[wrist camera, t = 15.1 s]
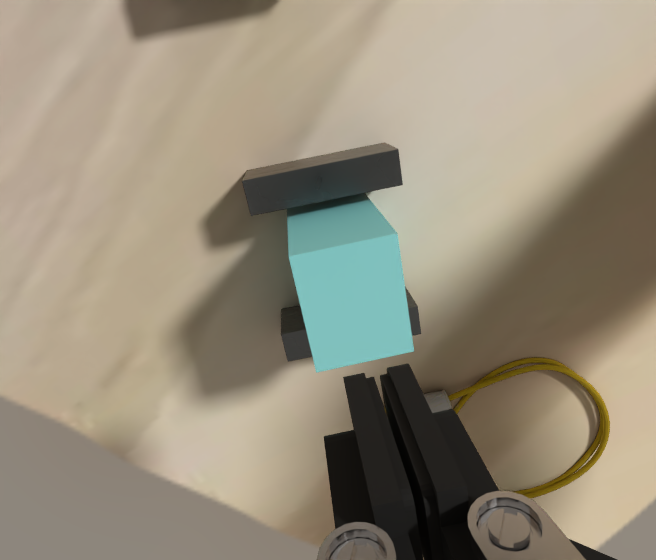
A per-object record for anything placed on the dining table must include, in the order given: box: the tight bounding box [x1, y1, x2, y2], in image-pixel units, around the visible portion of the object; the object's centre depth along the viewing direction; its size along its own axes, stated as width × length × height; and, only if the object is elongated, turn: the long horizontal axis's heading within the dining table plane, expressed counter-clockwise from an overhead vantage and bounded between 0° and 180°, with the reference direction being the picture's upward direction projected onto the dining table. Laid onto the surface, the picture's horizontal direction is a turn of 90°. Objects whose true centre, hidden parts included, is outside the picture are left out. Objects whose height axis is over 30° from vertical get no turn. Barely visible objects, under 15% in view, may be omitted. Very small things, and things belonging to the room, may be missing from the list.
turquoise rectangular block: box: [287, 193, 414, 373], centre depth 22 cm, size 4×5×8 cm
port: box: [242, 143, 421, 361], centre depth 24 cm, size 7×9×3 cm
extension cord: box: [384, 357, 610, 499], centre depth 30 cm, size 12×16×2 cm
